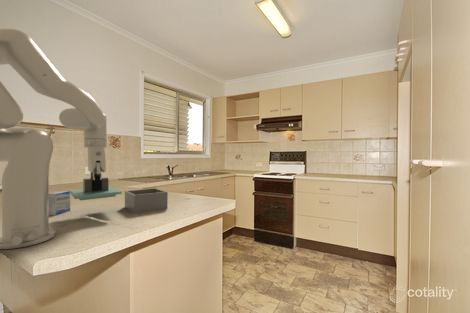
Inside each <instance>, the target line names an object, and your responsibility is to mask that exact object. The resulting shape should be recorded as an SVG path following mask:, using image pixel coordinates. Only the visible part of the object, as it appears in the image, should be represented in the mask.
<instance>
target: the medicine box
mask: <svg viewBox="0 0 470 313" xmlns="http://www.w3.org/2000/svg"><path fill="white" fill-rule="evenodd" d="M69 211H71V190H60V191H55V192H51V193H50V192H49V216H58V215H62V214H64V213H67V212H69Z"/></svg>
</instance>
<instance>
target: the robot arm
mask: <svg viewBox="0 0 470 313" xmlns="http://www.w3.org/2000/svg"><path fill="white" fill-rule="evenodd" d="M1 65H9V66H10V67H12V69H14V70H15V71H16V73H17V74H18V75H19V76H20V77H21V78H22V79H23V80H24V81H25V82H26V83H27V84H28V85H29V86H30V87H31V89H32V90H33V91H34V92H36V93H38V94H39V95H43V96H46V97H48V98H51V99H54V100H57V101H59V102H63V103H66V104H68V105H70V106H72V107H70V108H65V109H64V110H62V111H61V112H60V113H59V115H58V120H59V123H60V124H62V126H64V128H68V129H70V130H83V147H84V148H87V168H88V169H87V170H88V171H89V172H90V178H93V181H92V191H98V190H102V178H103V177H102V172H103V173H105V172H106V171H107V168H106V166H107V165H106V164H107V163H106V162H107V161H106V151H105V148H108V147H107V146H108V145H107V144H108V142H107V138H108V137H107V130H108V129H107V115H106V114H104V111H103V110H102V109H101V107H100V106H99V104H98V102H96V100H95V99H94V98H93V97H92V96H91V95H90V94H89V93H88V92H86V91H85V90H84V89H81V88H80V87H78V85H76V84H74V83H72V82H70V81H69V80H67V79H65V77H63V76H62V75H61V73H60V72H59V71H58V70H57V68H56V67H55V66H54V65H53V64H52V63H51V61H50V60H49V59H48V58H47V56H46V54H45V53H43V51H42V50H41V48H40V47H39V46H38V45H37V44H36V42H35V41H34V40H33V39H32V38H31V36H29V34H27V33H25V32H24V31H21V30H19V29H14V28H0V66H1ZM23 119H24V112H23V110H22V108H21V107H20V105H19V104H18V102H17V101H16V100H15V98H14V97H13V96H12V95H11V93H10V92H9V91H8V89H7V88H6V86H4V84H3V83H2V81H0V162H4V163H6V162H7V164H6V165H5V168H4V171H3V172H2V178H1V237H0V250H9V249H11V250H13V249H18V248H19V249H21V248H25V247H29V246H33V245H34V246H35V245H38V244H40V243H43V242H47V241H49V240H51V239H53V238H54V237H55V236H56V230H55V229H52V228H50V226H49V225H50V221H49V219H50V215H49V194H50V192H49V190H50V183H49V181H50V180H49V178H50V177H49V176H50V164H51V160H52V156H53V153H54V142H53V138H51V136H50V135H49V134H48V133H47V132H46V131H43V130H41V129H38V128H32V127H17V126H18V125H20V124H21V123H22V122H23ZM90 178H89V179H90Z"/></svg>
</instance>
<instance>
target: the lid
mask: <svg viewBox="0 0 470 313" xmlns="http://www.w3.org/2000/svg"><path fill="white" fill-rule="evenodd" d="M92 181H93V178H83V179H82V189H77V190H76V189H75V190H70V195H72V197H73V199H74V200H79V201H87V200H88V201H89V200H97V199H106V198H114V197H117V195H122V194H123V193H122V192H123V191H121V190H120V189H117V188H116V187H113V186H109V178H108V177H102V190H98V191H92Z"/></svg>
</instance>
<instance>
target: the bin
mask: <svg viewBox="0 0 470 313" xmlns="http://www.w3.org/2000/svg"><path fill="white" fill-rule="evenodd" d="M168 194H169V193H168V191H166V190H163V189H161V188H152V187H151V188H143V189H133V190H125V191H124V208H125V209H126V210H129V212H131V213H133V214H139V213H140V214H141V213H145V212H151V211H158V210H163V209H168Z"/></svg>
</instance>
